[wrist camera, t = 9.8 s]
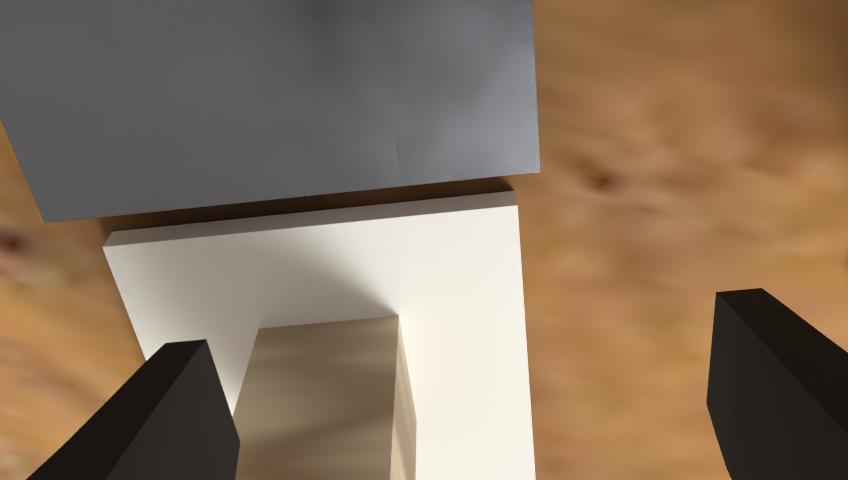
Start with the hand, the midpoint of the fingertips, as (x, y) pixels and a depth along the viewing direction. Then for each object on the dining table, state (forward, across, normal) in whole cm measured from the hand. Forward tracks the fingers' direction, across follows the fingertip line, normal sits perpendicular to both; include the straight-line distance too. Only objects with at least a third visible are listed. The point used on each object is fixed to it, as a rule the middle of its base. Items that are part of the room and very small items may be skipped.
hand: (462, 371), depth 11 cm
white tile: (+10, +4, +8) cm, 13 cm away
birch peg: (+9, +4, +8) cm, 13 cm away
